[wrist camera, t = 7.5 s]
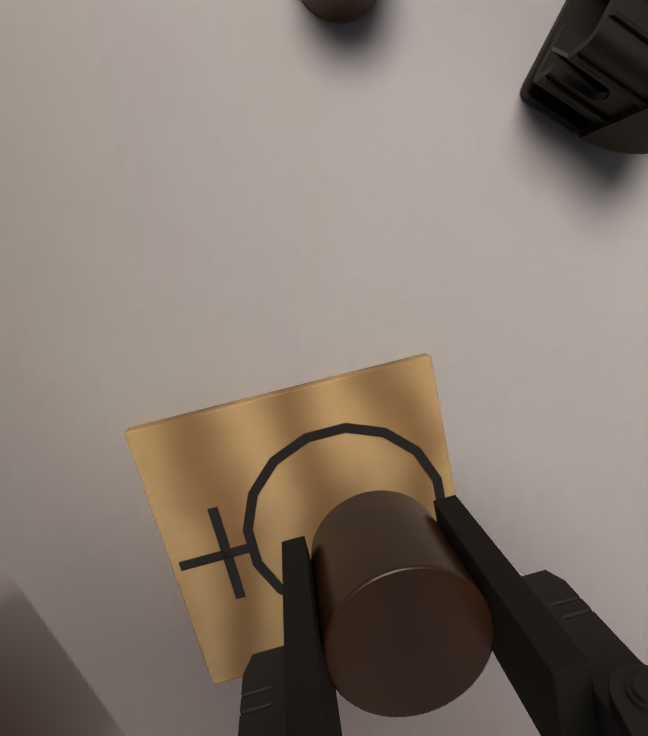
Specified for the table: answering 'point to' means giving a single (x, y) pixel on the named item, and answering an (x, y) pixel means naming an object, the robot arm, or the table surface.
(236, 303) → the table surface
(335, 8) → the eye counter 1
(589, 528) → the table surface
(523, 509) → the table surface
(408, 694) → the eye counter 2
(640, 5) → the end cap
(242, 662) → the drawing board
